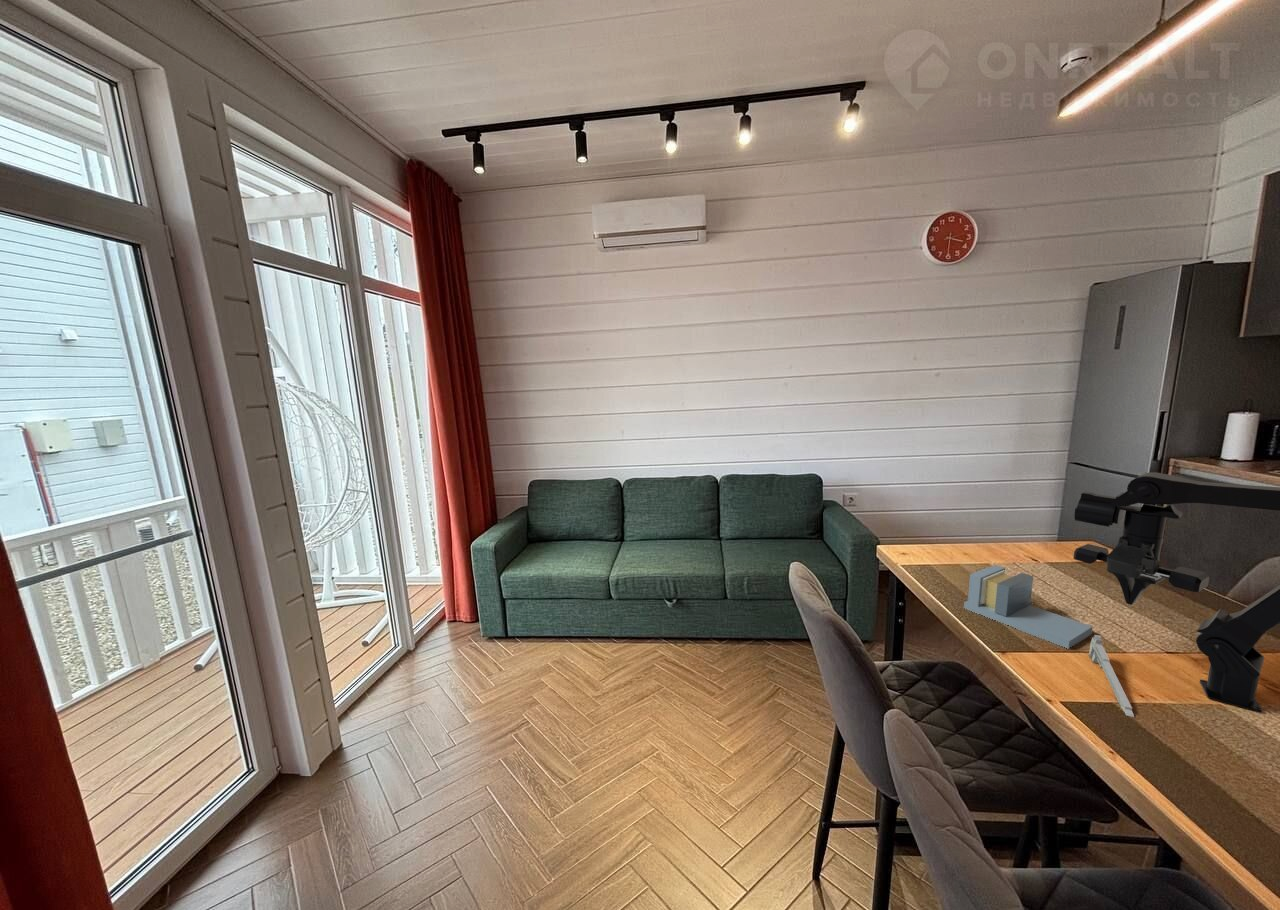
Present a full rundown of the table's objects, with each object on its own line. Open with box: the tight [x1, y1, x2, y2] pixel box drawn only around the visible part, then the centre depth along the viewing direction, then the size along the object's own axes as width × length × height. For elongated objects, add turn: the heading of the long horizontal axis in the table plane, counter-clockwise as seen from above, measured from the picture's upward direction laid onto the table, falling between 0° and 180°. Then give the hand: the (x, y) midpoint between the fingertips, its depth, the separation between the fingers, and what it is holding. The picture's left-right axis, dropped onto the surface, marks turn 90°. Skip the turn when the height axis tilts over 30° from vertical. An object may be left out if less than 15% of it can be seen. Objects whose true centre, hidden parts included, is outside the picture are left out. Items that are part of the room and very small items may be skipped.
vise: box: [963, 564, 1093, 650], centre depth 117 cm, size 22×12×10 cm, turn 28°
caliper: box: [1088, 634, 1135, 718], centre depth 93 cm, size 20×1×6 cm, turn 151°
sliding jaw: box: [995, 572, 1034, 616], centre depth 120 cm, size 3×12×8 cm, turn 118°
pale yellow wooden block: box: [984, 573, 1013, 609], centre depth 122 cm, size 3×8×7 cm, turn 118°
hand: (1129, 603), depth 99 cm, fingers closed
